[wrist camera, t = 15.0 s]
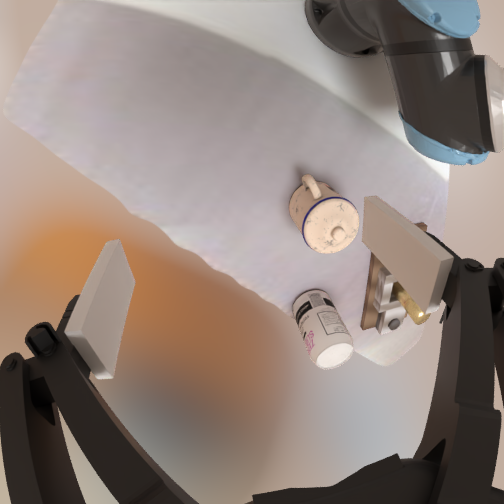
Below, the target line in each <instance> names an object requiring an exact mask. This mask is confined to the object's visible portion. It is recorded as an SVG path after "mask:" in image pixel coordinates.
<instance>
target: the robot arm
mask: <svg viewBox="0 0 504 504" xmlns="http://www.w3.org/2000/svg"><path fill="white" fill-rule="evenodd" d="M305 10H306V16H307V20H308V22H309V25H310V27H311V28H312V30H313V32H314V33H315V34H316V36H317V37H318V38H319V39H320V40H321V41H322V42H323V43H324V44H325V45H327V46H328V47H329V48H331V49H332V50H334V51H336V52H338V53H340V54H343V55H346V56H351V57H366V56H372V55H376V54H378V53H380V52H382V51H384V54H385V58H386V61H387V64H388V68H389V71H390V75H391V79H392V82H393V86H394V90H395V94H396V98H397V102H398V107H399V116H400V118H401V120H402V122H403V126H404V130H405V134H406V137H407V140H408V142H409V143H410V144H411V145H412V146H413V147H414V149H415V150H417V151H418V152H419V153H421V154H423V155H424V156H426V157H429V158H431V159H434V160H437V161H440V162H444V163H448V164H454V165H465V164H466V163H468V164H471V165H474V164H479V163H481V162H483V161H484V160H485V159H486V158H487V156H488V154H489V151H491V152H496V153H499V152H501V151H502V150H503V149H504V68H502V67H500V66H499V65H498V64H497V63H496V62H495V61H494V60H493V59H492V58H491V57H490V56H488V55H475V54H474V51H473V48H472V44H471V40H470V36H471V35H473V34H474V33H475V32H476V31H477V30H478V28H479V25H480V23H479V21H478V20H479V19H480V10H479V7H478V3H477V0H306V4H305ZM362 242H363V243H364V244H365V245H366V246H367V247H368V248H369V249H370V250H371V252H372V253H373V254H374V255H375V256H376V257H377V258H378V259H379V260H380V262H381V263H382V264H383V265H384V266H385V267H386V268H387V269H388V271H389V272H390V273H391V274H392V275H393V276H394V277H395V279H396V280H397V281H398V282H399V283H400V284H401V286H402V287H403V288H404V289H405V290H406V292H407V293H408V294H409V295H410V296H411V298H412V299H413V300H414V301H415V302H416V304H417V305H418V306H419V307H420V309H421V310H422V311H423V312H424V313H425V315H426V314H428V313H431V312H433V311H436V310H438V308H439V305H440V303H441V300H443V301H444V302H445V303H446V307H445V309H444V312H443V315H442V318H441V320H440V323H442V321H443V330H442V340H441V348H440V357H439V363H438V370H437V376H436V382H435V387H434V392H433V397H432V402H431V407H430V411H429V415H428V420H427V423H426V428H425V431H424V435H423V438H422V441H421V443H420V445H419V447H418V449H417V451H416V453H415V455H414V457H413V459H412V458H408V459H400V458H399V456H398V454H394V455H392V456H390V457H387V458H385V459H383V460H380V461H377V462H375V463H372V464H370V465H367V466H365V467H363V468H362V469H360V470H358V471H357V472H355V473H354V474H352V475H350V476H349V477H347V478H346V479H344V480H342V481H340V482H339V483H337V484H335V485H333V486H330V487H315V488H288V489H283V490H278V491H273V492H267V493H261V494H255V495H252V497H253V501H251V502H248V503H246V504H504V491H503V490H500V489H498V488H495V487H492V481H493V477H494V472H495V466H496V460H497V454H498V447H499V439H500V429H501V412H500V410H495V409H494V407H493V403H494V375H495V374H494V373H495V367H496V371H497V376H498V380H499V385H500V390H501V395H502V401H503V406H504V258H498V259H496V261H495V264H494V267H493V268H484V266H483V265H482V264H481V263H479V262H478V261H476V260H473V259H469V258H465V259H461V258H460V257H459V256H458V255H456V254H455V253H454V252H453V251H452V250H451V249H449V248H448V247H447V246H445V244H444V243H442V242H440V240H439V239H437V238H436V237H435V236H434V235H432V234H430V233H427V232H425V231H422V230H421V229H420V228H418V227H417V226H416V225H415V224H413V223H412V222H411V221H410V220H408V219H407V218H406V217H404V216H403V215H402V214H401V213H399V212H398V211H397V210H395V209H394V208H393V207H391V206H390V205H388V204H387V203H386V202H384V201H383V200H382V199H380V198H379V197H377V196H369V197H365V198H364V218H363V233H362ZM134 285H135V280H134V277H133V274H132V272H131V269H130V266H129V264H128V261H127V258H126V256H125V253H124V250H123V247H122V244H121V241H120V239H117V240H112V241H108V242H106V244H105V246H104V248H103V250H102V252H101V254H100V256H99V257H98V259H97V262H96V263H95V265H94V267H93V270H92V271H91V274H90V275H89V277H88V279H87V281H86V284H85V286H84V288H83V290H82V292H81V294H80V295H76V296H75V297H74V298H73V299H72V300H71V301H70V302H69V304H68V306H67V308H66V310H65V313H64V314H63V317H62V319H61V321H60V323H59V326H58V328H57V330H56V331H55V330H54V329H53V327H52V325H51V324H50V323H48V322H42V323H39V324H37V325H35V326H34V327H32V328H31V329H30V330H29V332H28V333H27V335H26V337H25V343H26V345H27V346H28V347H29V349H30V350H31V351H32V353H33V354H34V356H35V357H32V358H29V359H26V360H25V359H24V358H23V357H22V355H21V354H20V353H16V352H15V353H11V354H10V355H8V356H7V357H5V358H4V360H3V362H2V364H1V366H0V435H1V446H2V454H3V462H4V468H5V475H6V481H7V486H8V491H9V496H10V500H11V504H86V503H85V500H84V498H83V495H82V492H81V490H80V487H79V484H78V481H77V478H76V475H75V472H74V469H73V467H72V463H71V460H70V456H69V453H68V449H67V446H66V442H65V438H64V434H63V430H62V426H61V421H60V417H59V412H58V408H59V410H60V412H61V414H62V416H63V418H64V420H65V422H66V424H67V425H68V427H69V429H70V431H71V433H72V434H73V436H74V438H75V440H76V441H77V443H78V445H79V446H80V448H81V450H82V451H83V453H84V454H85V456H86V458H87V459H88V461H89V462H90V464H91V465H92V467H93V468H94V470H95V471H96V473H97V474H98V476H99V477H100V479H101V480H102V481H103V483H104V484H105V485H106V487H107V488H108V490H109V491H110V492H111V493H112V495H113V496H114V497H115V499H116V500H117V501H118V502H119V504H199V503H198V502H196V501H195V500H194V499H193V498H192V497H190V496H189V495H188V494H187V493H186V492H185V491H184V490H183V489H182V488H181V487H180V486H179V485H177V484H176V482H174V481H173V480H172V479H171V478H170V477H169V476H168V475H167V474H166V473H165V472H164V471H163V470H162V469H161V468H160V466H159V465H158V464H157V463H156V462H155V461H154V460H153V459H152V458H151V457H150V456H149V455H148V454H147V452H146V451H145V450H144V449H143V448H142V447H141V446H140V445H139V443H138V442H137V441H136V440H135V439H134V438H133V436H132V435H131V434H130V433H129V432H128V430H127V429H126V428H125V426H124V425H123V424H122V423H121V422H120V420H119V419H118V418H117V417H116V415H115V414H114V412H113V411H112V410H111V408H110V407H109V406H108V404H107V403H106V402H105V400H104V399H103V398H102V396H101V395H100V394H99V392H98V390H97V389H96V387H95V386H94V385H93V383H92V382H91V380H90V379H89V375H90V372H91V371H92V373H93V374H94V375H95V377H96V378H97V379H113V377H114V372H115V366H116V361H117V356H118V352H119V347H120V342H121V338H122V333H123V329H124V324H125V321H126V316H127V312H128V308H129V304H130V300H131V296H132V293H133V289H134ZM494 363H495V364H494ZM57 406H58V407H57Z"/></svg>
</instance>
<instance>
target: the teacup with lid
mask: <svg viewBox="0 0 504 504" xmlns="http://www.w3.org/2000/svg"><path fill="white" fill-rule="evenodd" d="M302 182H303V185H302V186H301V187H299V188H298V189H297V190H296V191H295V192H294V194H293V196H292V198H291V200H290V204H289V211H290V215H291V218H292V219H293V221H294V222H295V224H296V225H297V227H298V228H299V230H300V232H301V233H302V235H303V238H304V240H305V242H306V244H307V245H308V246H309V247H310V248H311V249H313V250H315V251H317V252H320V253H334V252H338V251H340V250H342V249H344V248H345V247H346V246H348V245H349V244H350V243H351V242H352V240H353V239H354V237H355V236H356V234H357V231H358V227H359V216H358V212H357V210H356V208H355V206H354V205H353V204H352V203H351V202H350V201H349V200H347V199H345V198H343V197H342V196H340V195H339V194H338V193H337V192H336V191H335V190H333V189H332V188H331V187H330V186H328V185H327V184H325V183H322V182H316V181H315V180H314V178H313V177H312V176H311V175H309V174H306V175H304V176H303V177H302Z"/></svg>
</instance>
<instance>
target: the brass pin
mask: <svg viewBox="0 0 504 504" xmlns="http://www.w3.org/2000/svg"><path fill="white" fill-rule="evenodd" d="M391 292H392V293H393V295H394V296H395V297H396V299H397V300H398V301H399V302H400V304H401V305H402V306H403V308H404V309H405V310H406V312H407V313H408V314H409V316H410V317H411V318H412V320H413V321H414V322H415V324H417V325H419V324H422V323H424V322H425V321H426V320H427V319H428V318H429V316H430V314H431V313H428V314H426V315H425V313H424V312H423V311H422V310H421V309H420V307H419V306H418V305H417V304H416V302H415V301H414V300H413V299H412V298H411V296H410V295H409V294H408V293H407V292H406V290H405V289H404V288H403V287H402V286H401V284H400V283H399V282H394V283H393V287H392V291H391Z"/></svg>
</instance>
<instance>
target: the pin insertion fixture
mask: <svg viewBox="0 0 504 504" xmlns="http://www.w3.org/2000/svg"><path fill="white" fill-rule="evenodd" d="M415 225H416V226H417V227H418V228H420V229H421V230H422V231H425V232H426V231H427V225H426V224H424V223H419V224H415ZM394 282H398V281H397V280H396V279H395V277H394V276H393V275H392V274H391V273H390V272H389V271H388V269H387V268H386V267H385V266H384V265H383V264H382V263H381V262H380V260H379V259H378V258H377V257H376V256H375V255H374V254H373V253H372V252H371V261H370V269H369V276H368V283H367V290H366V297H365V303H364V309H363V315H362V320H361V328H362V330H366V329H369V328H373V327H376V329H377V330H378V332H379V333H380V335H382V334H385V333H388V332H391V331H394V330H397V329H400V328H401V326H402V323H403V319H404V318H405V317H406V316H407V312H406V310H405V309H404V308H403V306H402V305H401V304H400V302H399V301H398V300H397V299H396V297H395V296H394V295H393V293H392V292H391V291H392V287H393V283H394Z"/></svg>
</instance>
